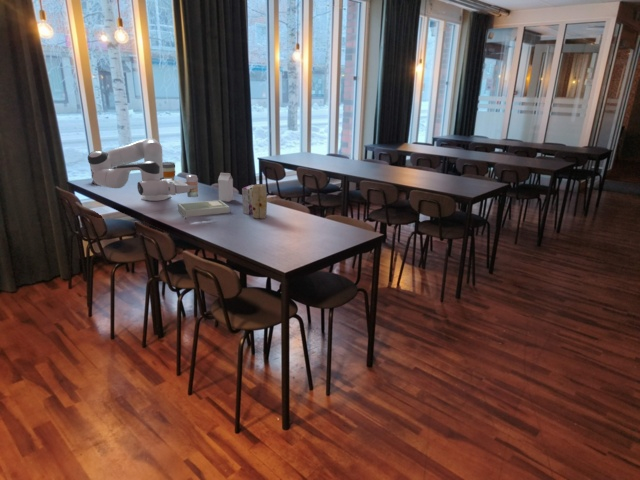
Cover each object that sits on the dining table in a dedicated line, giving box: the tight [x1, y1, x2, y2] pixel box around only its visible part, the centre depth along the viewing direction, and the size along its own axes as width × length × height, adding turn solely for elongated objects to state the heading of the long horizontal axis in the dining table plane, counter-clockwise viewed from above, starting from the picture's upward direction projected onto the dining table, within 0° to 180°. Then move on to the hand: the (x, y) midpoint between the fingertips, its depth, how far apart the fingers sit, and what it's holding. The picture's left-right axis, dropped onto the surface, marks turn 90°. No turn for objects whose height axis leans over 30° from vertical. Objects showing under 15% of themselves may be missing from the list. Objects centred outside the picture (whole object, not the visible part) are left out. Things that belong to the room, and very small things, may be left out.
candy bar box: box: [241, 184, 255, 215], centre depth 254 cm, size 11×5×16 cm, turn 160°
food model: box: [252, 183, 268, 220], centre depth 245 cm, size 10×7×20 cm
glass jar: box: [185, 174, 199, 198], centre depth 246 cm, size 6×6×12 cm
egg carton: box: [208, 200, 223, 208], centre depth 257 cm, size 10×6×4 cm, turn 30°
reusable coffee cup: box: [163, 161, 176, 180], centre depth 331 cm, size 13×13×15 cm
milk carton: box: [217, 172, 234, 203], centre depth 280 cm, size 7×7×19 cm
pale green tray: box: [177, 199, 231, 220], centre depth 254 cm, size 18×26×4 cm
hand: (193, 185), depth 246 cm, fingers closed on glass jar, 6 cm apart
